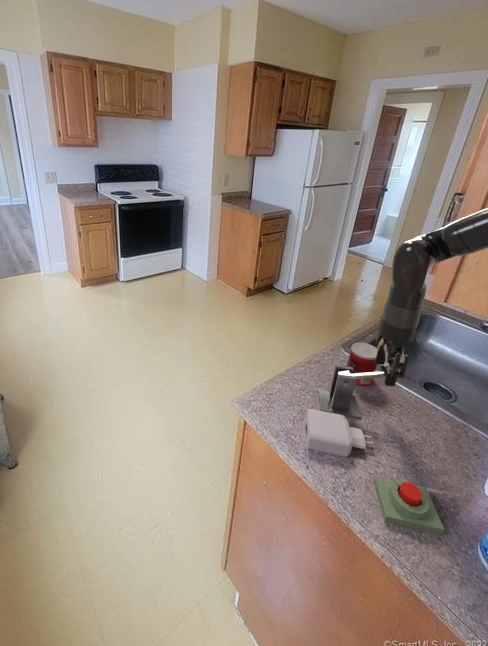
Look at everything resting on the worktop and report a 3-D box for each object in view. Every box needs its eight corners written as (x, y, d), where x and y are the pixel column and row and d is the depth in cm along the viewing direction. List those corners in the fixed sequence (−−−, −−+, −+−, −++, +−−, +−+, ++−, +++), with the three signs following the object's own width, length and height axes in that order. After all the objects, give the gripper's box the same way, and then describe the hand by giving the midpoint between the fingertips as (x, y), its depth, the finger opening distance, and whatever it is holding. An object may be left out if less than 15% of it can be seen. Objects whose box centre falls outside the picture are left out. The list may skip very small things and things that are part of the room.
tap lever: (386, 371, 85) (385, 363, 84) (392, 383, 80) (391, 376, 80) (338, 375, 88) (336, 367, 88) (341, 387, 84) (339, 380, 83)
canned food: (375, 379, 100) (384, 350, 95) (365, 392, 94) (374, 361, 90) (351, 367, 105) (357, 339, 100) (340, 379, 99) (347, 349, 95)
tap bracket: (353, 398, 92) (362, 365, 87) (360, 420, 85) (369, 385, 80) (317, 392, 94) (324, 359, 89) (320, 413, 86) (328, 378, 82)
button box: (424, 492, 67) (429, 481, 66) (441, 535, 60) (447, 523, 59) (373, 482, 69) (376, 470, 68) (384, 521, 62) (388, 510, 61)
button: (415, 489, 65) (418, 483, 64) (422, 508, 62) (425, 502, 61) (396, 485, 66) (398, 479, 65) (402, 503, 62) (404, 497, 62)
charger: (375, 465, 73) (306, 450, 76) (365, 432, 81) (304, 420, 84) (379, 450, 71) (309, 436, 74) (369, 418, 80) (307, 406, 83)
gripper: (429, 337, 69) (410, 396, 75) (406, 307, 82) (391, 359, 88) (391, 333, 71) (375, 390, 77) (374, 303, 84) (362, 354, 90)
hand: (384, 373), depth 83 cm, fingers open, 8 cm apart
